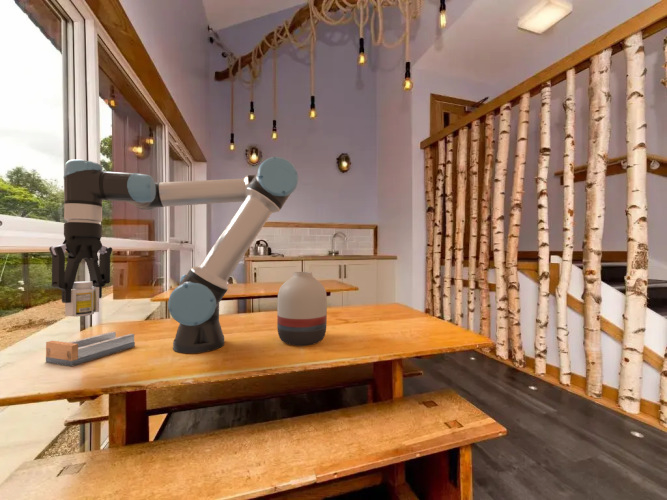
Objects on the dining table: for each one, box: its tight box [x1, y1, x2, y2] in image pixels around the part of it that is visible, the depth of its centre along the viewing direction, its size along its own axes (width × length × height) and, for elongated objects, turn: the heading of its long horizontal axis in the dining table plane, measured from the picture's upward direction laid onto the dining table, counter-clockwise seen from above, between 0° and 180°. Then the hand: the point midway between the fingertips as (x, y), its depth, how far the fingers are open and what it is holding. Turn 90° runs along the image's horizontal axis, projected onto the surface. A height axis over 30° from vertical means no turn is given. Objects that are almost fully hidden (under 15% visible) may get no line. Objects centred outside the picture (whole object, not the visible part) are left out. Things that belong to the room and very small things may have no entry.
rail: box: [45, 331, 136, 367], centre depth 90 cm, size 10×18×6 cm, turn 163°
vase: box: [276, 271, 328, 347], centre depth 105 cm, size 17×17×24 cm
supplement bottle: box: [72, 280, 95, 318], centre depth 77 cm, size 5×5×8 cm
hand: (82, 313), depth 77 cm, fingers closed on supplement bottle, 5 cm apart
